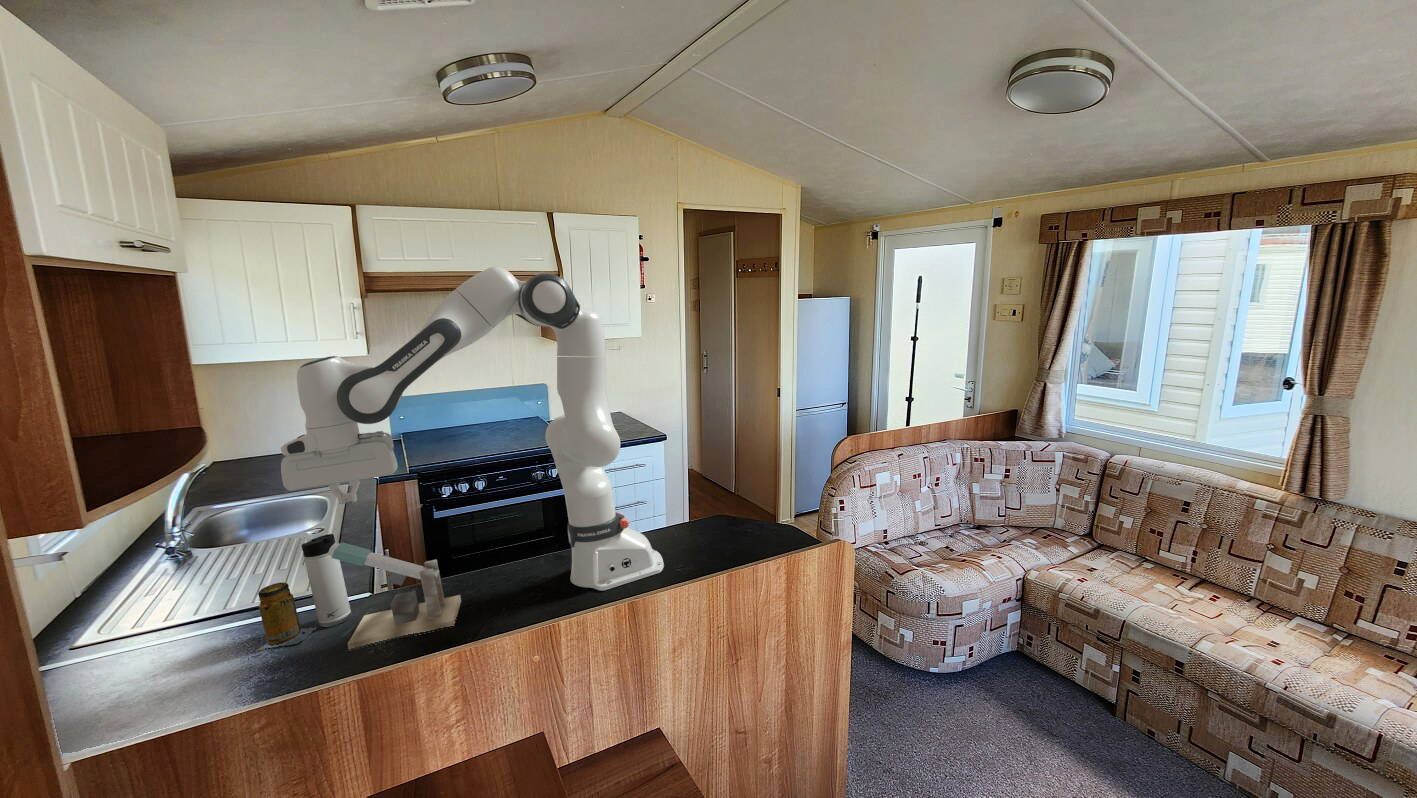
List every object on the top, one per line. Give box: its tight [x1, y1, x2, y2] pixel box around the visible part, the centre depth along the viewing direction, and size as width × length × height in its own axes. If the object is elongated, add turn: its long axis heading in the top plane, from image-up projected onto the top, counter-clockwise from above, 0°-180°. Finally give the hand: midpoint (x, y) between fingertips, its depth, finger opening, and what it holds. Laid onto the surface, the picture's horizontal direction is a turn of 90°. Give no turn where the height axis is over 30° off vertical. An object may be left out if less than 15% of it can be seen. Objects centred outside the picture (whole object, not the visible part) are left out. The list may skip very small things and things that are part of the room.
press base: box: [347, 559, 462, 650], centre depth 126 cm, size 20×12×12 cm, turn 106°
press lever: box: [328, 541, 440, 587], centre depth 125 cm, size 22×4×4 cm, turn 106°
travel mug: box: [301, 533, 352, 625], centre depth 131 cm, size 6×7×20 cm
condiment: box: [257, 581, 302, 651], centre depth 126 cm, size 7×8×12 cm
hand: (348, 502), depth 121 cm, fingers closed
